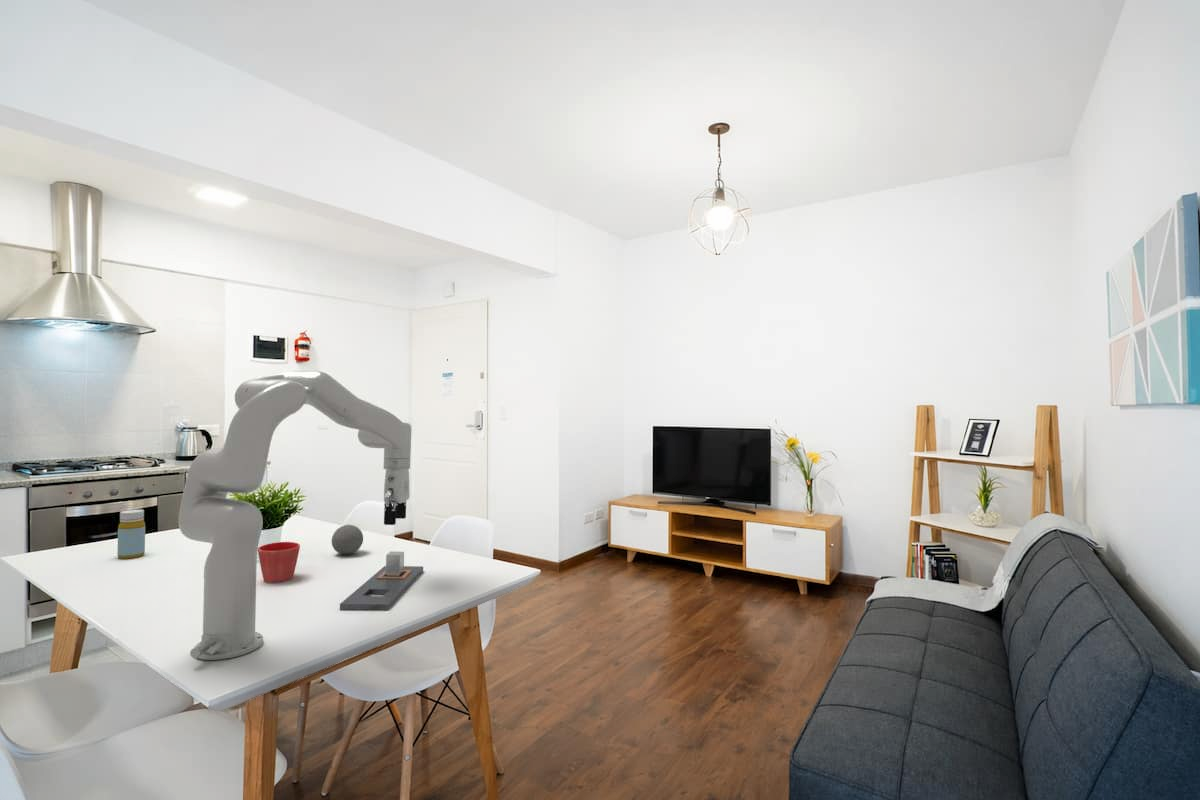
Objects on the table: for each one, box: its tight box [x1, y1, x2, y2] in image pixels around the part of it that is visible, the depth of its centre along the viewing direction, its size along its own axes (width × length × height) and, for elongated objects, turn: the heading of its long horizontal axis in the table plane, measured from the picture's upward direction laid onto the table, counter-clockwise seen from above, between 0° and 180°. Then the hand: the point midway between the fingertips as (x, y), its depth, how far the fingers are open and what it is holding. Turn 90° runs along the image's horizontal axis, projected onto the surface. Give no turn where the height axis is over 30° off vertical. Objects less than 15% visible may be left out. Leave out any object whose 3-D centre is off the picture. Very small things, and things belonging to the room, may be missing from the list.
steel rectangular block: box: [385, 551, 405, 577], centre depth 173 cm, size 4×4×8 cm
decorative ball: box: [331, 524, 364, 556], centre depth 200 cm, size 10×10×10 cm
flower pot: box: [257, 541, 301, 583], centre depth 172 cm, size 11×11×10 cm
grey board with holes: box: [339, 565, 424, 611], centre depth 165 cm, size 34×12×2 cm, turn 2°
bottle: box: [117, 509, 146, 560], centre depth 192 cm, size 7×7×15 cm
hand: (395, 521), depth 173 cm, fingers open, 9 cm apart
